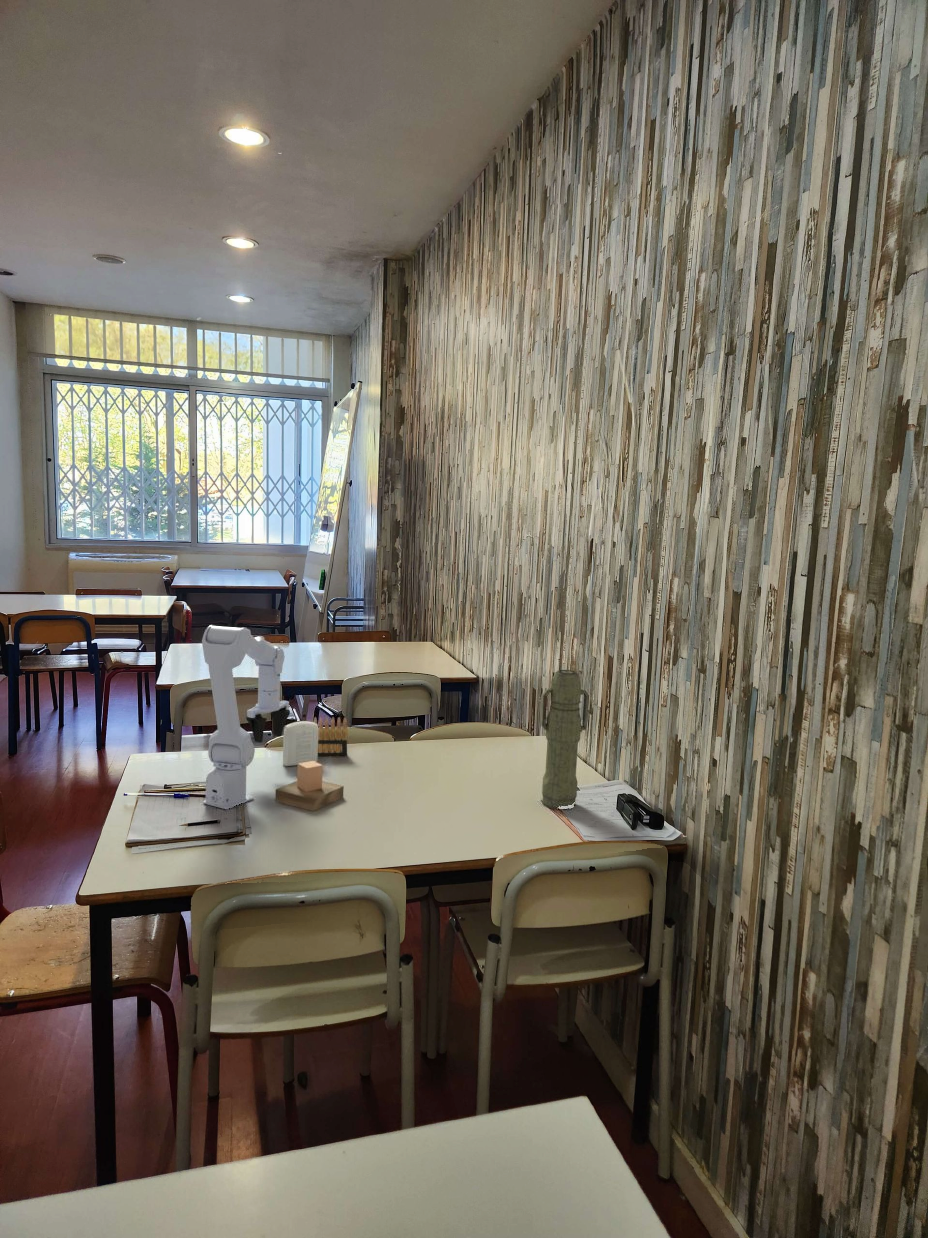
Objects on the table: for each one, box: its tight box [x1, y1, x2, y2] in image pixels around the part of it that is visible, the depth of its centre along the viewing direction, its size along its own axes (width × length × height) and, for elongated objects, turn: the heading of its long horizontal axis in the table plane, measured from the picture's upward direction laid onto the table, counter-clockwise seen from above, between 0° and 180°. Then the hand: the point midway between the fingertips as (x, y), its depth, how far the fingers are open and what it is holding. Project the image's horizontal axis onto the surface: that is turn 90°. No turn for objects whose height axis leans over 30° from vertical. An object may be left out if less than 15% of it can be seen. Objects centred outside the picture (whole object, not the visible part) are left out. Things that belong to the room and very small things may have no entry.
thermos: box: [540, 669, 590, 810], centre depth 203 cm, size 9×12×35 cm
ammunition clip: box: [312, 716, 348, 758], centre depth 237 cm, size 11×2×12 cm, turn 101°
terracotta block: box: [296, 761, 324, 792], centre depth 199 cm, size 4×4×6 cm
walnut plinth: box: [274, 780, 344, 812], centre depth 199 cm, size 12×12×3 cm
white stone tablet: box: [282, 720, 319, 767], centre depth 228 cm, size 10×4×12 cm, turn 123°
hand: (268, 738), depth 215 cm, fingers open, 7 cm apart
